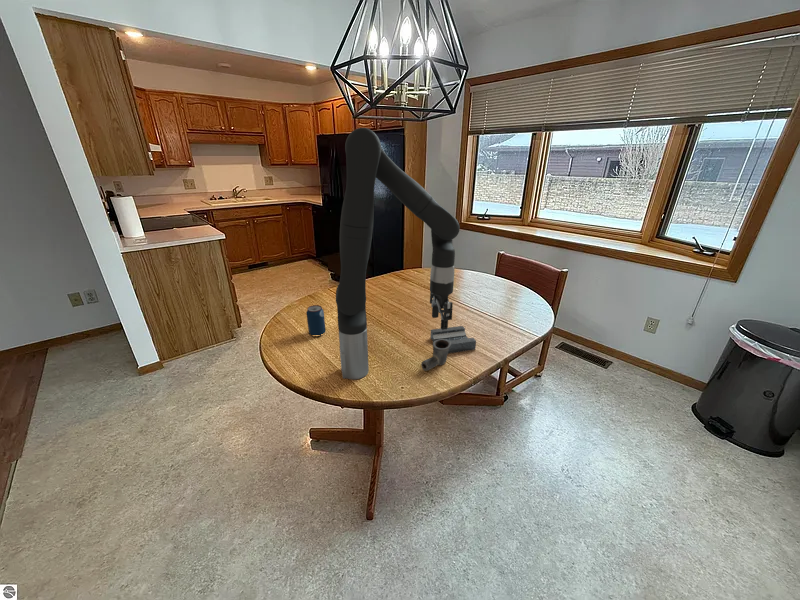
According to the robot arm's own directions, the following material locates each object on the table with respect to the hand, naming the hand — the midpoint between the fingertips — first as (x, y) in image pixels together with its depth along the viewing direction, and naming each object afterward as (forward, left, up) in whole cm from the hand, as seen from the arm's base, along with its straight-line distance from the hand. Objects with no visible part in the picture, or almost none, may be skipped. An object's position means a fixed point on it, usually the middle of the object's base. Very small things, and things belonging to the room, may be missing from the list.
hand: (439, 323), depth 109 cm
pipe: (0, 0, -17) cm, 17 cm away
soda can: (-41, +33, -17) cm, 56 cm away
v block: (+11, +12, -17) cm, 23 cm away
